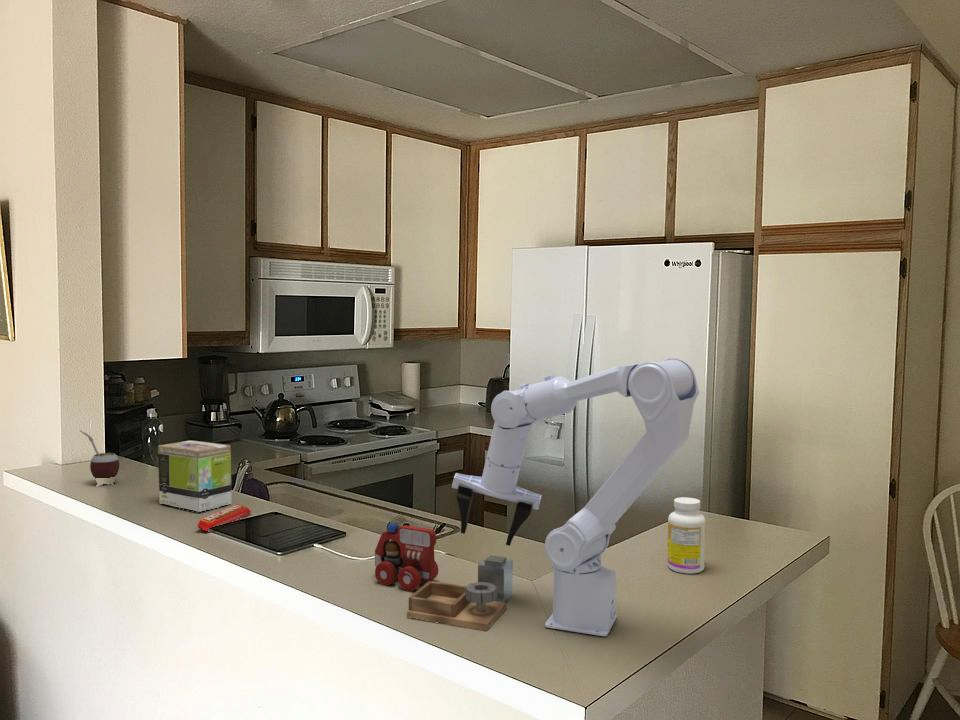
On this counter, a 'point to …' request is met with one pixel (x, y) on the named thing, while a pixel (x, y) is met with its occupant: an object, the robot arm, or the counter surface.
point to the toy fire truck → (406, 556)
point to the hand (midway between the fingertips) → (485, 536)
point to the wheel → (481, 592)
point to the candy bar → (224, 517)
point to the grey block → (497, 575)
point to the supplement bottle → (686, 537)
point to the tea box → (195, 474)
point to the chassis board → (452, 607)
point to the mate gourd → (103, 463)
